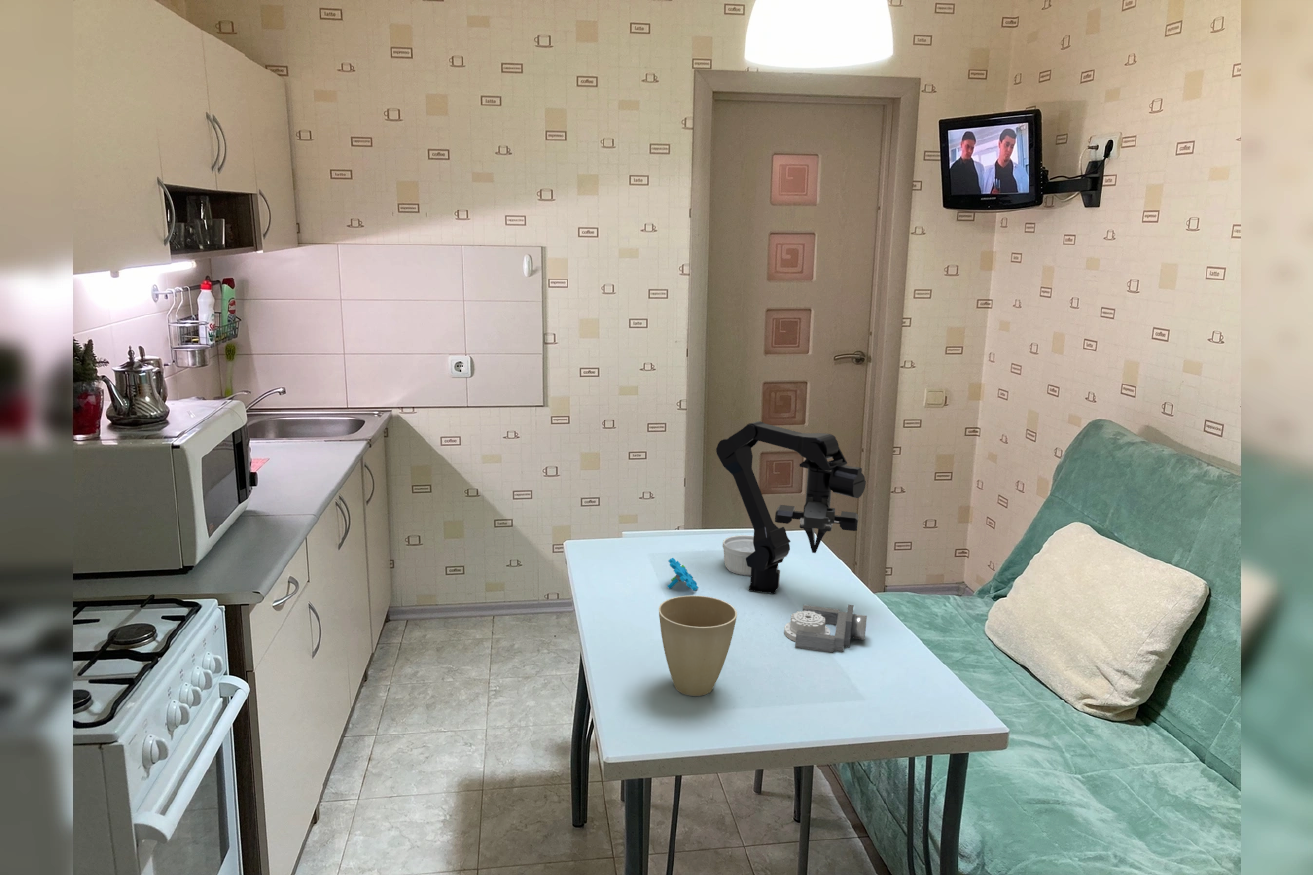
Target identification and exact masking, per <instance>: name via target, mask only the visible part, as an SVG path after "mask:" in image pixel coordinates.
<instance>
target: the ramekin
mask: <svg viewBox="0 0 1313 875" xmlns="http://www.w3.org/2000/svg"><path fill="white" fill-rule="evenodd" d="M753 538H754V535H750V534H749V535H748V534H741V535H732V536H729V537H727V538H725V539H724V540H723V541H722V549H723V559H724V565H725V567H726V568H727V569H728V571H729V572H731V573H733V574H737V575H740V576H750V577H751V567H748V566H747V562H746V557H748V556H749V555H750V554H752V553H753V552H754V551H755V549H754V545H753Z"/></svg>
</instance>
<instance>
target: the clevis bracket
mask: <svg viewBox="0 0 1313 875" xmlns="http://www.w3.org/2000/svg"><path fill="white" fill-rule="evenodd" d="M801 610H802V611H811V612H815V613H817V614H821V615H822V617H824V618H825V625H832V626H835V633H834V635H833V634H830V635H827V634H819V633H812V632H805V631H797V633H796V642H795V646H794V648H796V649H803V650H810V651H816V652H817V651H818V652H823V653H824V652H825V653H826V652H827V653H834V652H841V653H843V652H844V648H850V646H851V639H854V640H862V641H865V639H866V627H867V620H868V619H867V617H868V616H867V615H864V614H855V613H854V604H847V611H840V609H838V608H830V607H824V606H823V607H822V606H814V605H809V604H803V605H802V609H801ZM802 611H801V612H802Z"/></svg>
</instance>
